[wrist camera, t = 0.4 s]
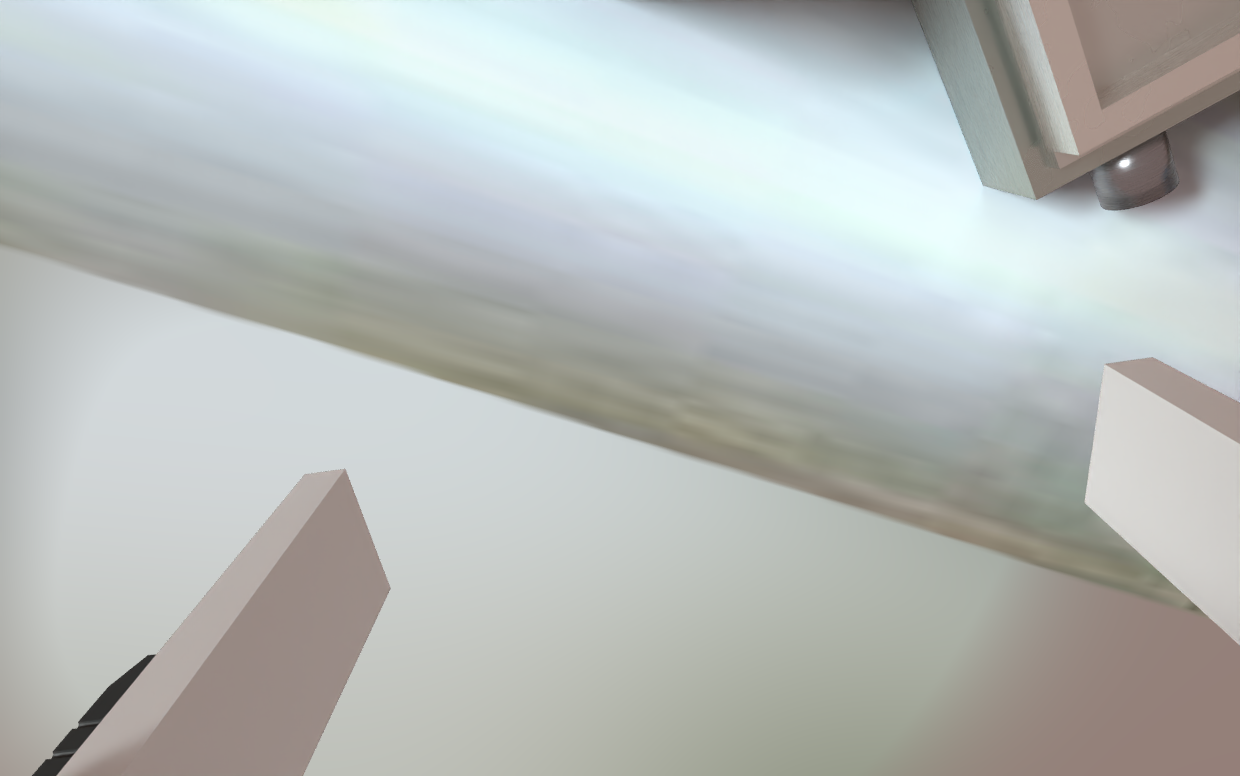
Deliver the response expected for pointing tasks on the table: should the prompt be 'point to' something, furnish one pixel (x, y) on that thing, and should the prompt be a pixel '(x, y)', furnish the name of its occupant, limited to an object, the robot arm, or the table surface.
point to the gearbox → (1081, 87)
